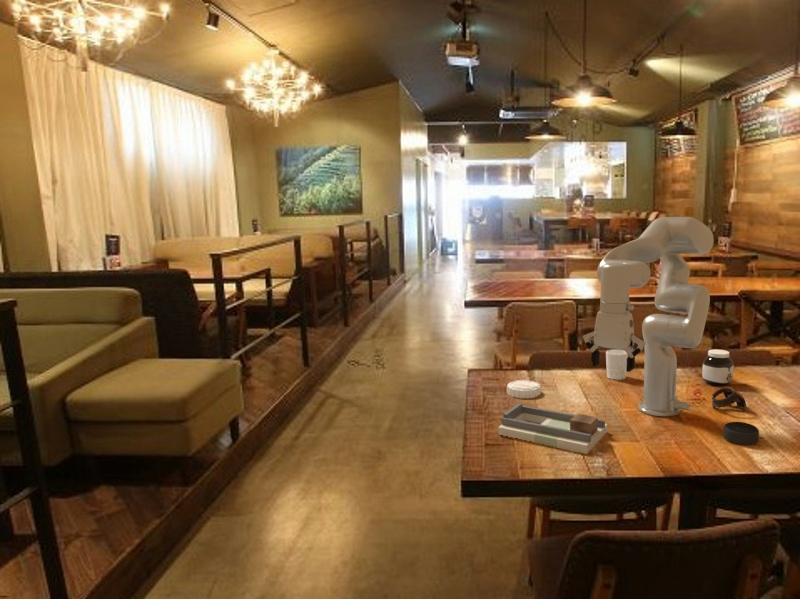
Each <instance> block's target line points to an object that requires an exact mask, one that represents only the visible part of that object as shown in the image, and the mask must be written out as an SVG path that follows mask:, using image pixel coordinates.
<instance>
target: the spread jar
mask: <svg viewBox="0 0 800 600" xmlns="http://www.w3.org/2000/svg"><path fill="white" fill-rule="evenodd" d="M707 355H708V356H706V357H705V359H704V360H703V363H702V374H701V375H702V379H703V381H704V382H705V383H707V384H708V385H712V386H718V387H721V386H724V387H726V386H727V385H729V384H731V382H732V381H733V378H734V367H735V366H734V361H733V360H732V359H731V357H730V351H728V350H725V349H709V350H708V351H707Z"/></svg>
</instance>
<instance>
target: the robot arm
mask: <svg viewBox="0 0 800 600" xmlns="http://www.w3.org/2000/svg"><path fill="white" fill-rule="evenodd" d="M714 240H715V239H714V235H713V232H712V230H711V228H710V227H708V226H707V225H705V224H704V223H703V222H702V221H700V220H698V218H697V219H696V218H694V217H692V216H662V217H657V218H655V219H654V220H653V221H652V222H651V223H650V224H649V225H648V226H647V227H646V228H645V230H644V231H643V232H642V233H641V234H640V235H639V237H638V238H636V239H633V240H631V241H628V242H626V243H624V244H621V245H619V246H616V247H614V248H612V249H611V250H609V252H608V253H607V254H605V256H604V257H603V258H602V259H601V260H600V262H599V264H598V266H597V270H596V277H597V280H598V281H599V282H600V301H599V302H600V304H599V305H600V306H599V311H597V314H596V319H595V324H594V331H591V332H588V333H586V334H584V335H583V336H582V339H583V341H584V343H585V346H586V347H587V348H588V349H589V352H591V358H590V359H591V363H592V367H597V366H598V365H600V354H601V353H600V350H599V349H601V348H604V349H605V348H606V349H609V350H624V351H625V352H626V353H627V354H628V358H627V368H626V373H630V372H632V371H633V370H634V369H635V366H636V356H637V355H639V354H640V353H641V352H642V351H643V349H644V363H643V364H644V365H643V366H644V367H643V368H644V370H643V371H644V372H643V401H641V402H639V403H637V405H638V408H637V409H638V410H639V411H641V412H642V413H644V414H647V415H650V416H655V417H673V416H677V415H679V414H680V413H681V410H684V411H690V409H691V404H689V403H688V402H687V401H680V400H679V396H678V395H676V391H677V368H678V367H677V363H678V361H677V360H678V359H677V353H676V352H675V351H674V349H673V347H677V348H686V349H696V348H697V347H698V346H699V345H700V344H701V341H702V338H703V335H704V330H705V326H706V322H707V317H708V314H709V313H708V312H709V309H710V302H711V301H710V300H711V296H710V292H709V289H708V288H707V287H706V286H704V285H701V284H695V283H689V279H690V276H691V275H690V274H691V269H690V267H689V265H688V263H687V262H686V260H685V259H684V257H683V256H682V255H698V256H700V255H706V254H708V253H709V252H710V251H711V250H712V248H713V246H714V242H715V241H714ZM681 254H682V255H681ZM659 259H660V263H661V271H660V275H659V280H658V284H657V286H656V292H655V295H654V306H655V308H656V309H658V310H660V311H662V312H666V313H673V314H665V313H652V314H649V315H648V316H646V317H645V318H644V319H643V321H642V324H641V331H642V337H643V340H642V339H641V338H640V337H637V336H635V325H634V318H633V314H632V312H630V311H634V310H635V306H634V305H633V304H631V302H630V288H633V289H634V288H643V287H644V286H645V285H647V284H648V282H650V279H651V276H652V275H651V274H652V272H651V268H650V266H649V265H648V264H649V263H654V262H656V261H658V260H659ZM674 313H675V314H681V315H682V314H684V315H687V316H681V315H674ZM592 337H593V341H591V338H592ZM635 344H637V347H636V348H635V349H634V348H633V347H634V345H635Z"/></svg>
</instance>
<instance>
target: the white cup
mask: <svg viewBox="0 0 800 600" xmlns="http://www.w3.org/2000/svg"><path fill="white" fill-rule="evenodd" d="M628 357H629V356H628V354H627V353H626V352H625V350H618V349H607V350H606V351H605V362H606V363H605V364H606V377H607V379H609V378H610V379H609V380H613V379H615V381H622V379H623V380H625V379H626V378H627V371H626V368H627V358H628Z"/></svg>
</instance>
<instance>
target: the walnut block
mask: <svg viewBox="0 0 800 600" xmlns="http://www.w3.org/2000/svg"><path fill="white" fill-rule="evenodd" d="M574 415H575V416H574V417H573V418H572V419H571V420H570V430H572V431H577V432H582V433H587V434H591V436H592V435H593V434H594V433H595V432H596V431H597V430H598V419H599V417H598V416H594V415H588V414H583V413H576V414H574Z"/></svg>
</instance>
